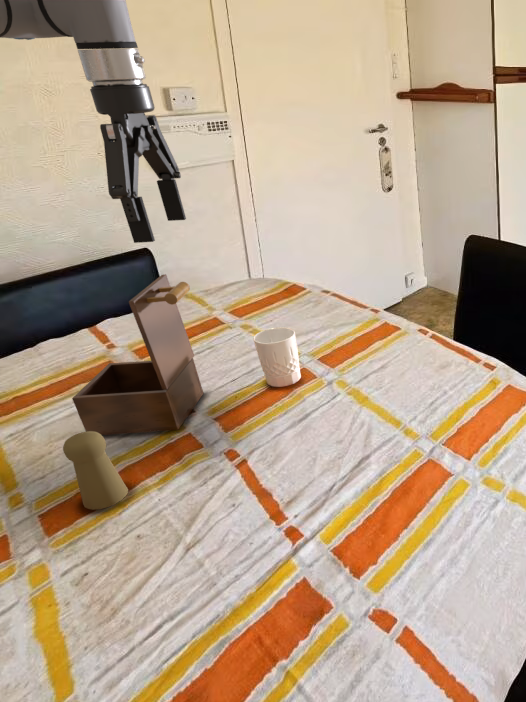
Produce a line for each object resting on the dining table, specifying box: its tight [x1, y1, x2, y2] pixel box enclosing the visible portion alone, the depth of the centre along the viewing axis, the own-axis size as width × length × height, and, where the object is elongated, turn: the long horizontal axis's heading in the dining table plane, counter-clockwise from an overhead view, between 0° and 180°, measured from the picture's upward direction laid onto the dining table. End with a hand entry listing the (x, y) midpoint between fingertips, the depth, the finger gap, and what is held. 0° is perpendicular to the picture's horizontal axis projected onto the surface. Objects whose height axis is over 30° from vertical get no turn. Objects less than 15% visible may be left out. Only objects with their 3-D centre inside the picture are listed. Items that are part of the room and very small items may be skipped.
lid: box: [128, 273, 195, 390], centre depth 110 cm, size 16×14×6 cm
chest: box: [71, 357, 204, 436], centre depth 116 cm, size 16×14×8 cm
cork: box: [62, 431, 129, 511], centre depth 93 cm, size 6×6×11 cm
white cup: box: [253, 326, 302, 388], centre depth 126 cm, size 8×8×10 cm
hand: (161, 230), depth 100 cm, fingers open, 13 cm apart
